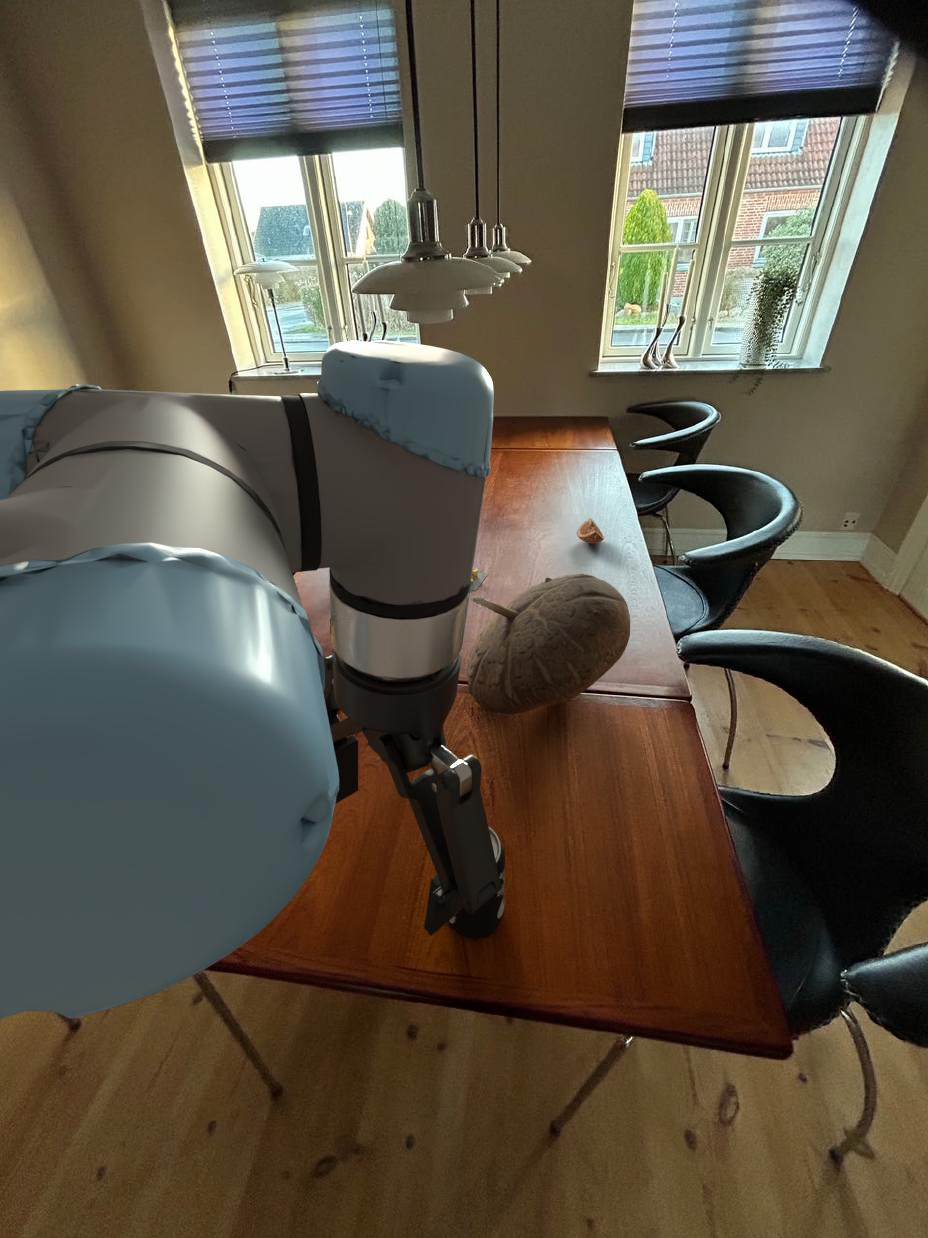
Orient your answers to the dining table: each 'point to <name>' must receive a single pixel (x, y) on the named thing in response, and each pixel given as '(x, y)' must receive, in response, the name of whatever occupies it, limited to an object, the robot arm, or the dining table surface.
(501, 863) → the beverage can
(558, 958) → the dining table surface
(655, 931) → the dining table surface
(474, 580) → the gold figures on slab
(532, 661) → the mushroom
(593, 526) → the fruit slice
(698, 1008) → the dining table surface
